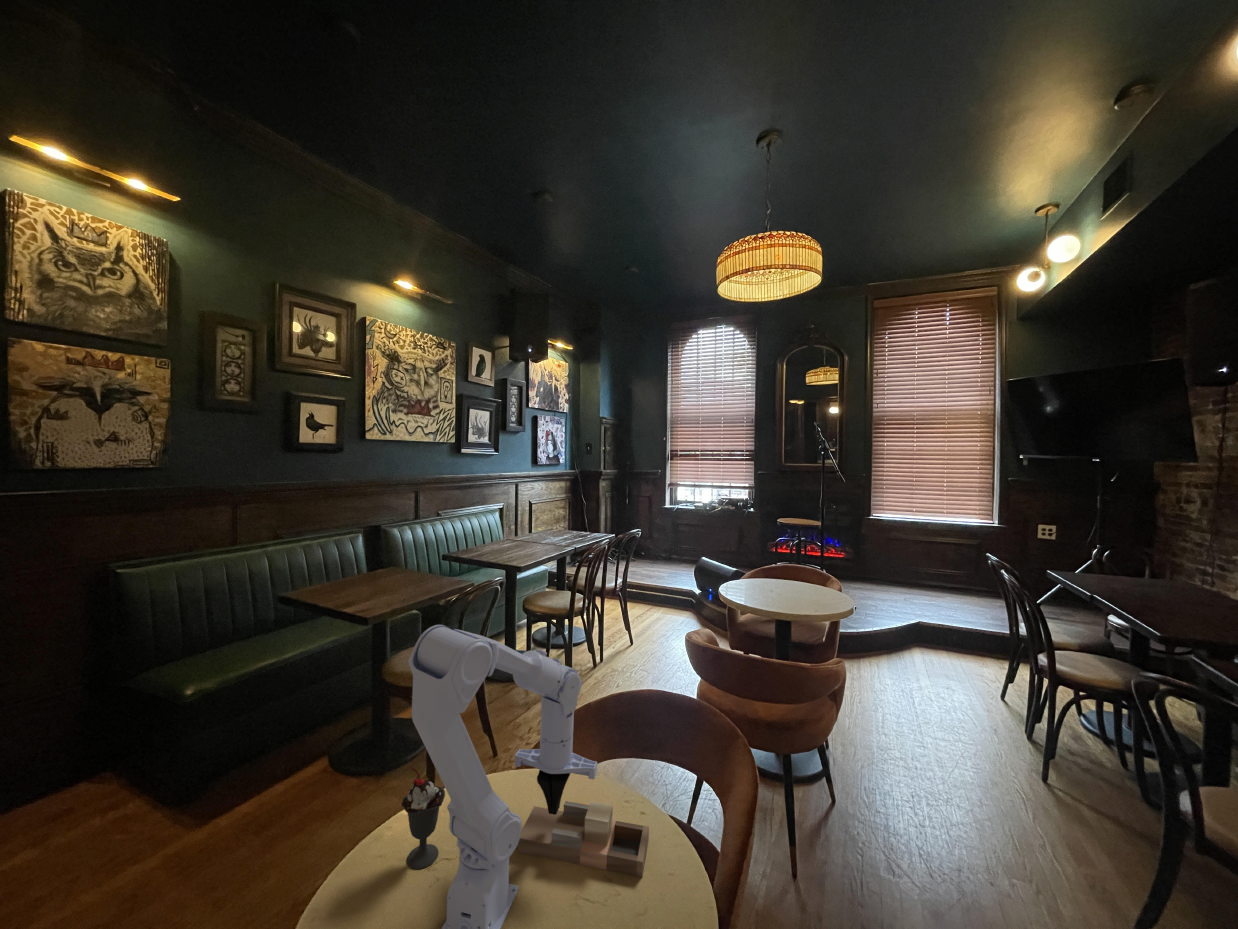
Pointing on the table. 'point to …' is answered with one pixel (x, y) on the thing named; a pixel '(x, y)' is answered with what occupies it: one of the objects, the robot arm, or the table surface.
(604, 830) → the block
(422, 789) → the sundae
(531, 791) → the table surface
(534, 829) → the wooden stepped tray
